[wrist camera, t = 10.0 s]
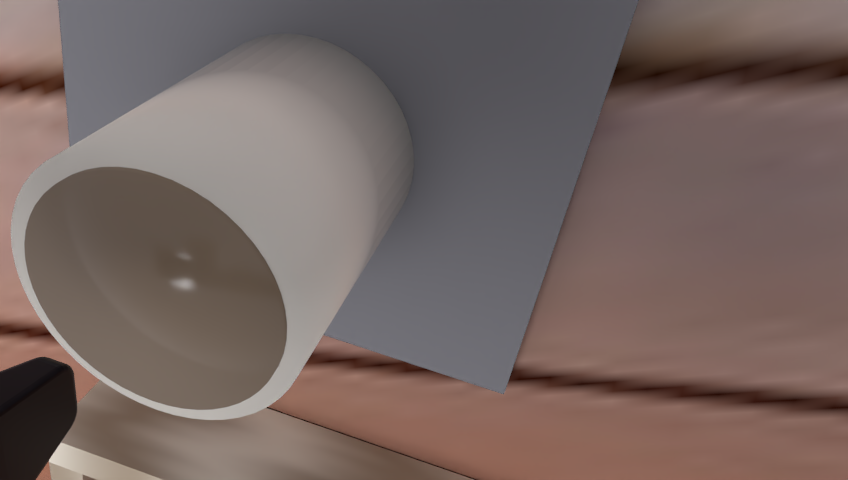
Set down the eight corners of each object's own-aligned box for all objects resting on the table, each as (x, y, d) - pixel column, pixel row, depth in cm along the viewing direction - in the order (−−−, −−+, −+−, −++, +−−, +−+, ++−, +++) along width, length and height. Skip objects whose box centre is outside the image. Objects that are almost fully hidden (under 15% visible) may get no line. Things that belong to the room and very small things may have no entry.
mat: (644, -24, 16) (644, -16, 16) (508, 376, 23) (503, 394, 22) (67, -171, 18) (44, -170, 17) (94, 241, 24) (78, 253, 24)
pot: (434, 71, 18) (322, 209, 12) (392, 273, 21) (288, 463, 15) (202, 5, 18) (-15, 105, 12) (196, 211, 22) (22, 368, 16)
